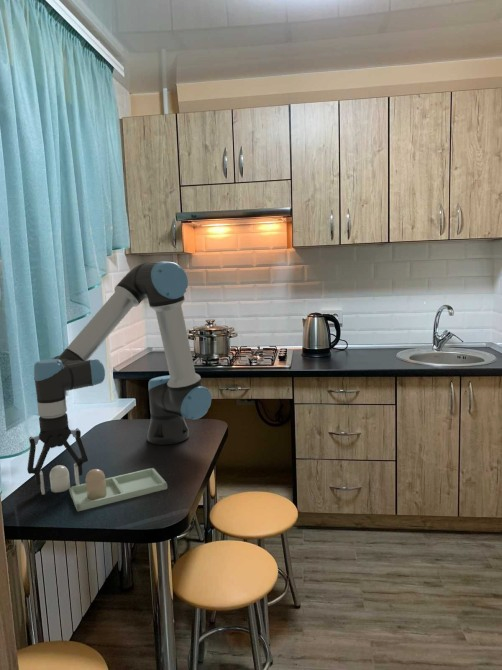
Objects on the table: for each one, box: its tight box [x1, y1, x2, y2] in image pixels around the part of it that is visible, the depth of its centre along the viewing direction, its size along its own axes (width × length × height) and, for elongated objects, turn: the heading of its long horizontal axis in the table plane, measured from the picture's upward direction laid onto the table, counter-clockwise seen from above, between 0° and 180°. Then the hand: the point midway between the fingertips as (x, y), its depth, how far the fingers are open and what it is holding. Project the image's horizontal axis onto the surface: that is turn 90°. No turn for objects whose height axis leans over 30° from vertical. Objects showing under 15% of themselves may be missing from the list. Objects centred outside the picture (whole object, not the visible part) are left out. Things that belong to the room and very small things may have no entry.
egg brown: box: [84, 468, 107, 500], centre depth 142 cm, size 5×5×8 cm
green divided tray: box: [68, 467, 168, 512], centre depth 145 cm, size 24×13×2 cm, turn 118°
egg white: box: [49, 464, 71, 493], centre depth 148 cm, size 5×5×8 cm
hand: (60, 490), depth 148 cm, fingers open, 9 cm apart
